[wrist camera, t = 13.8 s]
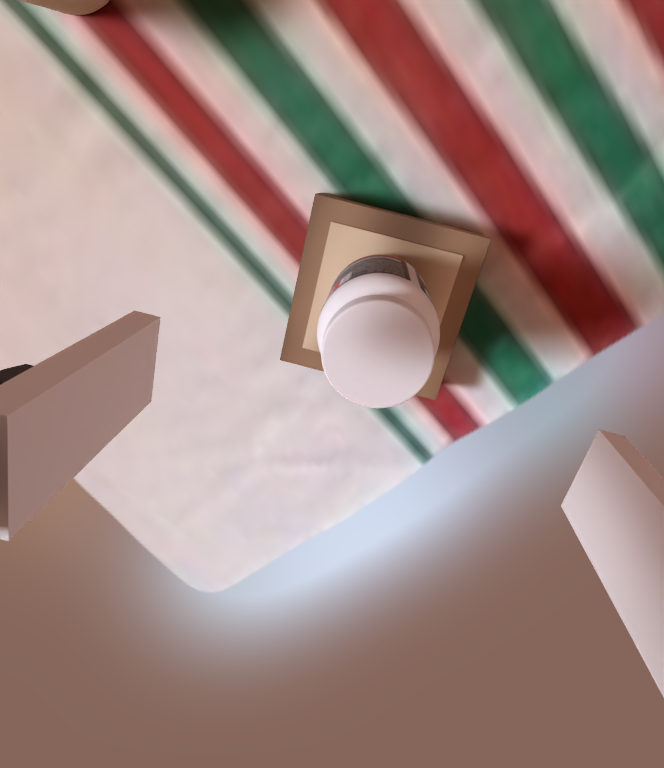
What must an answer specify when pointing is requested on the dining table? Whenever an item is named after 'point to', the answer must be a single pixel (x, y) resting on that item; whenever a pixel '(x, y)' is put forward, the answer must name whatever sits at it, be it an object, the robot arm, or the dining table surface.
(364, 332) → the pill bottle
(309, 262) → the base block
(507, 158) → the dining table surface
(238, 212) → the dining table surface
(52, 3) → the flower pot
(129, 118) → the dining table surface
